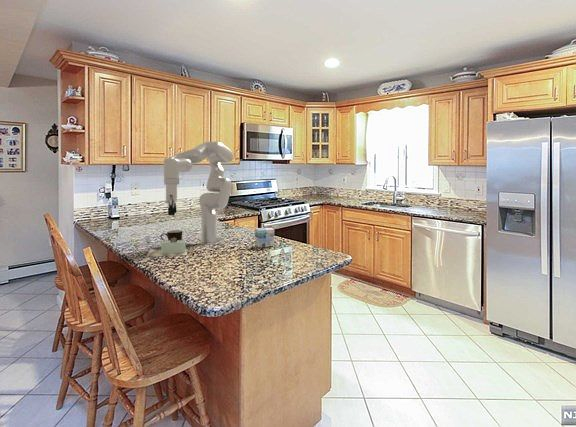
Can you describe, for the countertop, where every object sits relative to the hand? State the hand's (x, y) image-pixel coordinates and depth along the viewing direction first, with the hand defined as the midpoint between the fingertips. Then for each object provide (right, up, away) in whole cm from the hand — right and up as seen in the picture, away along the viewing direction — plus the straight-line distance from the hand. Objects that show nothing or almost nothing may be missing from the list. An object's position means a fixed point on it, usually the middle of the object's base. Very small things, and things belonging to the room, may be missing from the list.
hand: (172, 214), depth 190 cm
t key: (-23, -19, +25) cm, 39 cm away
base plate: (-3, -22, +2) cm, 23 cm away
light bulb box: (+47, -20, +29) cm, 59 cm away
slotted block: (0, -21, +3) cm, 21 cm away
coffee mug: (-6, -20, +20) cm, 29 cm away
